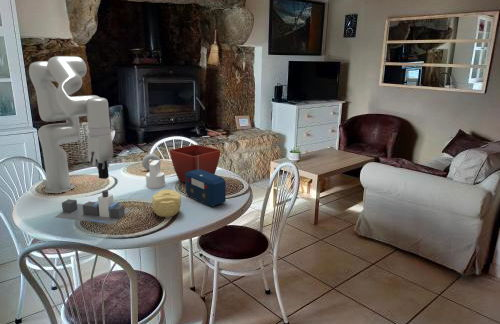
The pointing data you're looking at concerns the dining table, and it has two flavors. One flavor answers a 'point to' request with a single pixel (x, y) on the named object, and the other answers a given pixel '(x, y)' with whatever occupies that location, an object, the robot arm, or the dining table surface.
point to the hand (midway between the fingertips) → (103, 177)
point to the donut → (146, 160)
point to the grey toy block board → (91, 212)
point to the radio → (205, 187)
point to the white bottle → (105, 203)
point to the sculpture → (166, 203)
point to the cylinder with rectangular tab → (155, 176)
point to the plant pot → (194, 159)
